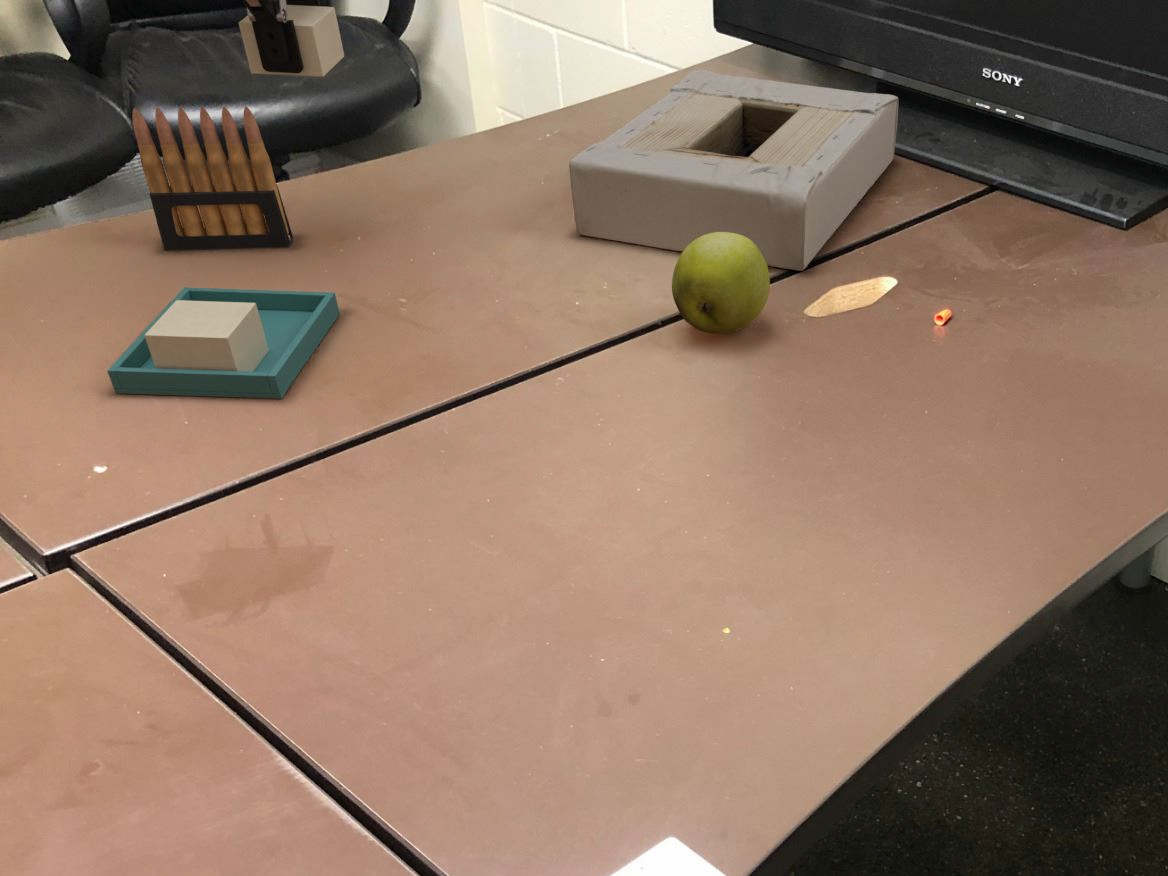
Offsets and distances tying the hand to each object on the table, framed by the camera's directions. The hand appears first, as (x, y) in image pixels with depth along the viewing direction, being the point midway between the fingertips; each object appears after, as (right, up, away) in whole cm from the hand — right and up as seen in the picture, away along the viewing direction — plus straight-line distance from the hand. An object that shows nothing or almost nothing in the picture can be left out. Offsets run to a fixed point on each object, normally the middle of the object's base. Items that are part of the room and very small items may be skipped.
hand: (296, 57), depth 114 cm
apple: (+37, -24, -1) cm, 44 cm away
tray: (-1, -27, -8) cm, 28 cm away
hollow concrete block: (+36, -4, +22) cm, 42 cm away
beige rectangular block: (0, 0, 0) cm, 1 cm away
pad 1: (-1, -29, -11) cm, 31 cm away
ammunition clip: (-9, -14, +7) cm, 18 cm away
